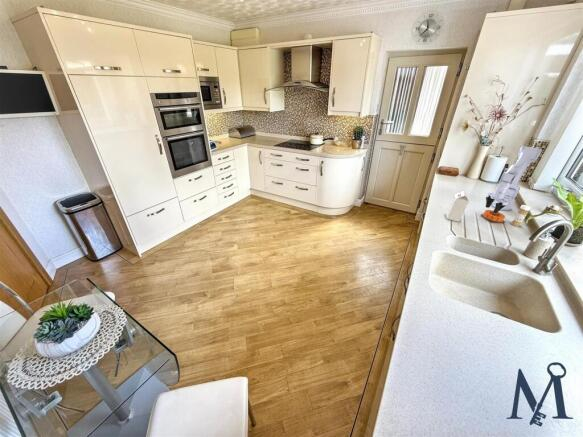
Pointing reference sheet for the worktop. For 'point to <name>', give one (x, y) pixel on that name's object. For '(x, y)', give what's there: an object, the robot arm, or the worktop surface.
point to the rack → (492, 220)
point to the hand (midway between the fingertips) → (491, 210)
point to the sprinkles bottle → (520, 215)
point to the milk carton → (457, 206)
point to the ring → (493, 216)
